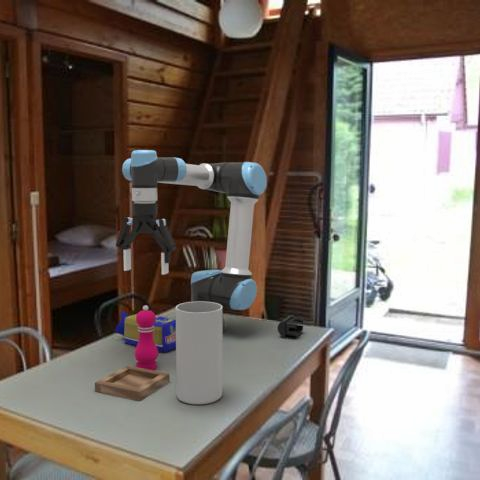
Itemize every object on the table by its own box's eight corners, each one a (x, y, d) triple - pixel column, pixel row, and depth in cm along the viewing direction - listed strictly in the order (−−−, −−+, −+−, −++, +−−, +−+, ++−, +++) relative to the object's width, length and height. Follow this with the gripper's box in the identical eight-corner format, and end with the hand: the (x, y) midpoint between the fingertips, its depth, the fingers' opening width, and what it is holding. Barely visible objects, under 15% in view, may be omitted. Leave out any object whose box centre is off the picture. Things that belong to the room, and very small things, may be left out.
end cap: (285, 330, 212) (285, 313, 211) (303, 333, 209) (303, 315, 208) (277, 338, 203) (277, 320, 202) (295, 340, 200) (295, 322, 199)
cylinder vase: (179, 386, 156) (179, 301, 153) (223, 387, 156) (223, 301, 153) (173, 405, 144) (172, 312, 141) (220, 406, 144) (220, 313, 141)
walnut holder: (127, 373, 166) (127, 365, 166) (169, 381, 160) (169, 373, 160) (94, 391, 153) (94, 382, 152) (139, 401, 147) (139, 392, 146)
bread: (164, 355, 183) (163, 325, 182) (113, 341, 197) (112, 313, 196) (183, 347, 192) (183, 318, 190) (133, 334, 206) (133, 308, 204)
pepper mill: (149, 362, 176) (148, 301, 174) (162, 368, 171) (162, 305, 169) (130, 367, 171) (128, 305, 169) (143, 374, 166) (142, 309, 164)
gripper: (103, 201, 166) (105, 270, 169) (174, 204, 156) (174, 277, 159) (118, 200, 173) (119, 266, 175) (187, 202, 163) (187, 273, 165)
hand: (146, 272), depth 167 cm, fingers open, 13 cm apart
